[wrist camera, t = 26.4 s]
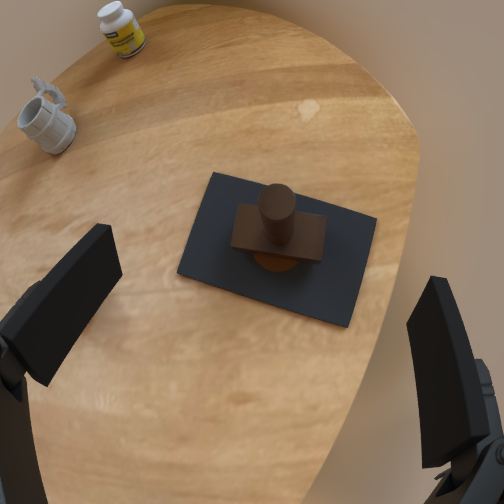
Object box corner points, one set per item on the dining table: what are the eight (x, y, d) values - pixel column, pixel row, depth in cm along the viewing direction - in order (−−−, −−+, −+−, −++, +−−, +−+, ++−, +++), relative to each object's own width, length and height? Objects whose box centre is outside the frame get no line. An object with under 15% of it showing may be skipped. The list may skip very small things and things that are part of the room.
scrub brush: (323, 225, 37) (343, 181, 24) (317, 265, 37) (337, 242, 23) (243, 212, 39) (220, 164, 25) (235, 252, 38) (207, 222, 24)
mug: (43, 160, 45) (1, 132, 33) (56, 108, 47) (22, 77, 35) (73, 150, 44) (31, 118, 33) (85, 97, 46) (52, 61, 35)
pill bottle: (112, 61, 47) (86, 23, 36) (124, 39, 48) (101, 3, 37) (140, 56, 47) (116, 15, 35) (151, 35, 48) (131, -5, 36)
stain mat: (375, 219, 37) (377, 218, 37) (347, 327, 36) (348, 328, 35) (214, 173, 41) (212, 171, 40) (178, 273, 39) (176, 272, 38)
